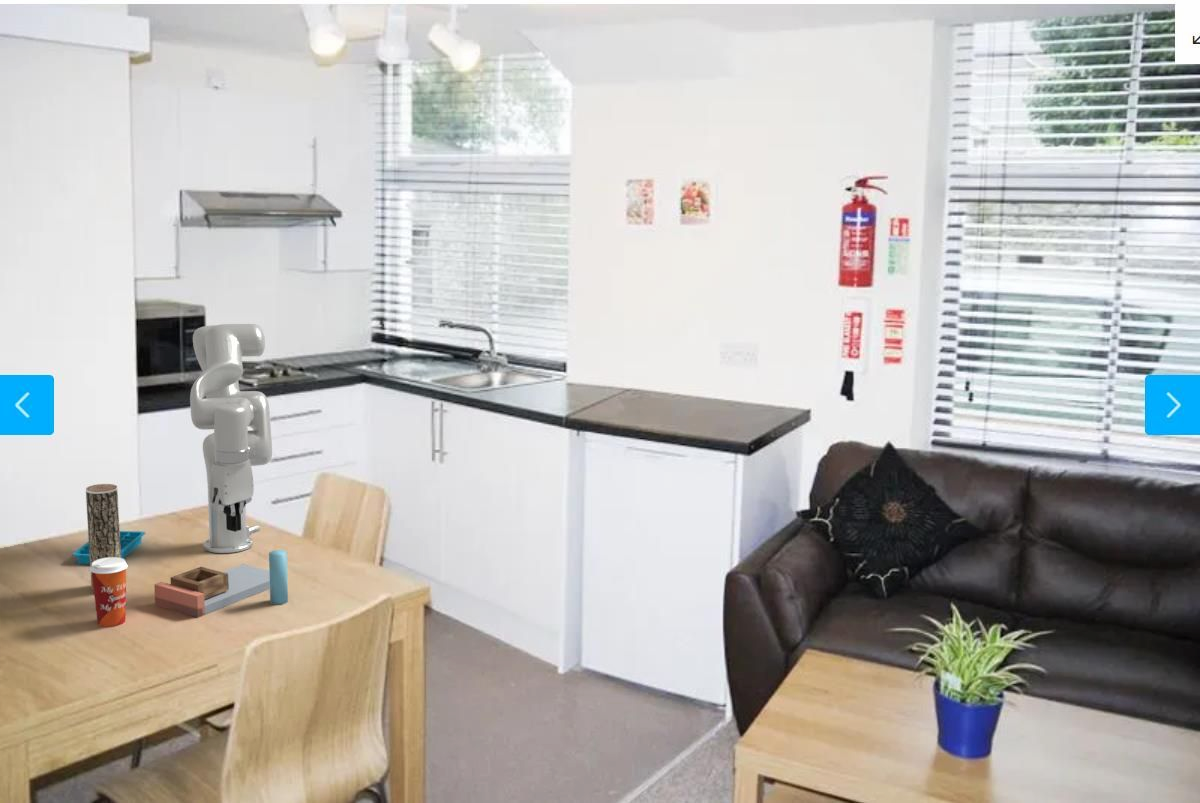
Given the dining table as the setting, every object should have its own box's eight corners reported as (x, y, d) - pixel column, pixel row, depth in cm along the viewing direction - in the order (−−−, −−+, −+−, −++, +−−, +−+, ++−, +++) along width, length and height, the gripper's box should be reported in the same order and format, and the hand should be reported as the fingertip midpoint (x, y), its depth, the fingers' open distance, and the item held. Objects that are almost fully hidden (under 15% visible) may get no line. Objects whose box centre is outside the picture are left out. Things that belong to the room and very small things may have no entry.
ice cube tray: (147, 542, 301) (146, 531, 300) (117, 567, 281) (117, 555, 280) (103, 541, 300) (103, 530, 300) (71, 566, 281) (70, 554, 280)
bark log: (127, 584, 268) (122, 484, 264) (112, 594, 262) (107, 492, 257) (101, 582, 269) (95, 483, 264) (85, 592, 262) (79, 490, 258)
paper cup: (106, 631, 240) (103, 570, 238) (85, 623, 244) (81, 563, 242) (138, 620, 247) (135, 560, 244) (117, 612, 251) (113, 553, 248)
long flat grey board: (243, 571, 280) (242, 552, 279) (284, 582, 273) (284, 563, 272) (155, 604, 256) (154, 584, 255) (198, 617, 250) (197, 596, 249)
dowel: (279, 597, 263) (277, 549, 261) (291, 600, 262) (290, 552, 259) (266, 602, 260) (265, 553, 258) (279, 605, 258) (278, 556, 256)
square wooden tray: (201, 582, 265) (201, 566, 264) (228, 589, 260) (228, 573, 260) (171, 593, 257) (170, 577, 256) (198, 601, 253) (197, 585, 252)
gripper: (244, 447, 270) (246, 519, 274) (195, 460, 258) (198, 535, 261) (266, 452, 267) (268, 524, 271) (218, 465, 254) (220, 541, 258)
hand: (233, 529), depth 266 cm, fingers closed
